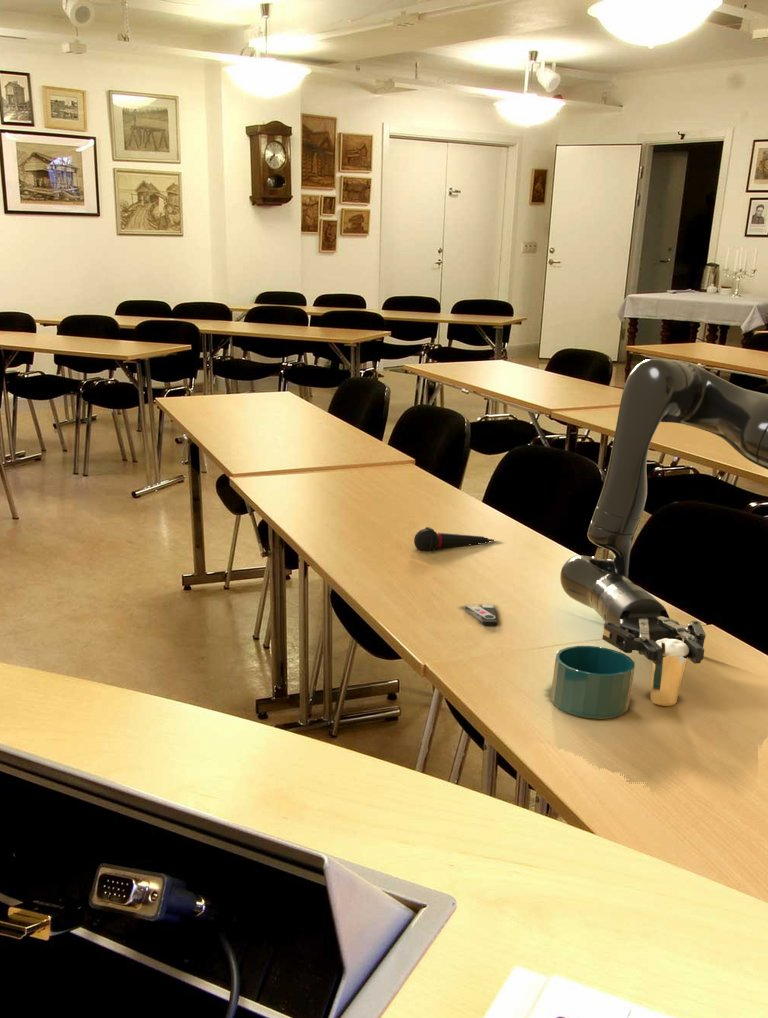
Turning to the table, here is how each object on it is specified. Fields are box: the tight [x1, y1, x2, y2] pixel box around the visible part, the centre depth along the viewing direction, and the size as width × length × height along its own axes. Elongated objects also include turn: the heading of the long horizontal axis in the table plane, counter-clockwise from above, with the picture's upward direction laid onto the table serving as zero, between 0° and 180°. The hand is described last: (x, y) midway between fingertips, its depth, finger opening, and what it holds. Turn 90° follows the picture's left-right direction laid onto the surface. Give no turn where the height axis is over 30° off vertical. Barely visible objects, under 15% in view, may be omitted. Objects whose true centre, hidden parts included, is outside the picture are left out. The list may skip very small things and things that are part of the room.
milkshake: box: [650, 638, 689, 707], centre depth 125 cm, size 4×5×10 cm
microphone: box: [413, 526, 495, 553], centre depth 197 cm, size 6×6×20 cm
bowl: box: [550, 645, 636, 720], centre depth 126 cm, size 10×10×6 cm
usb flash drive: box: [463, 603, 498, 627], centre depth 159 cm, size 9×5×1 cm, turn 168°
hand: (679, 657), depth 122 cm, fingers closed on milkshake, 4 cm apart
